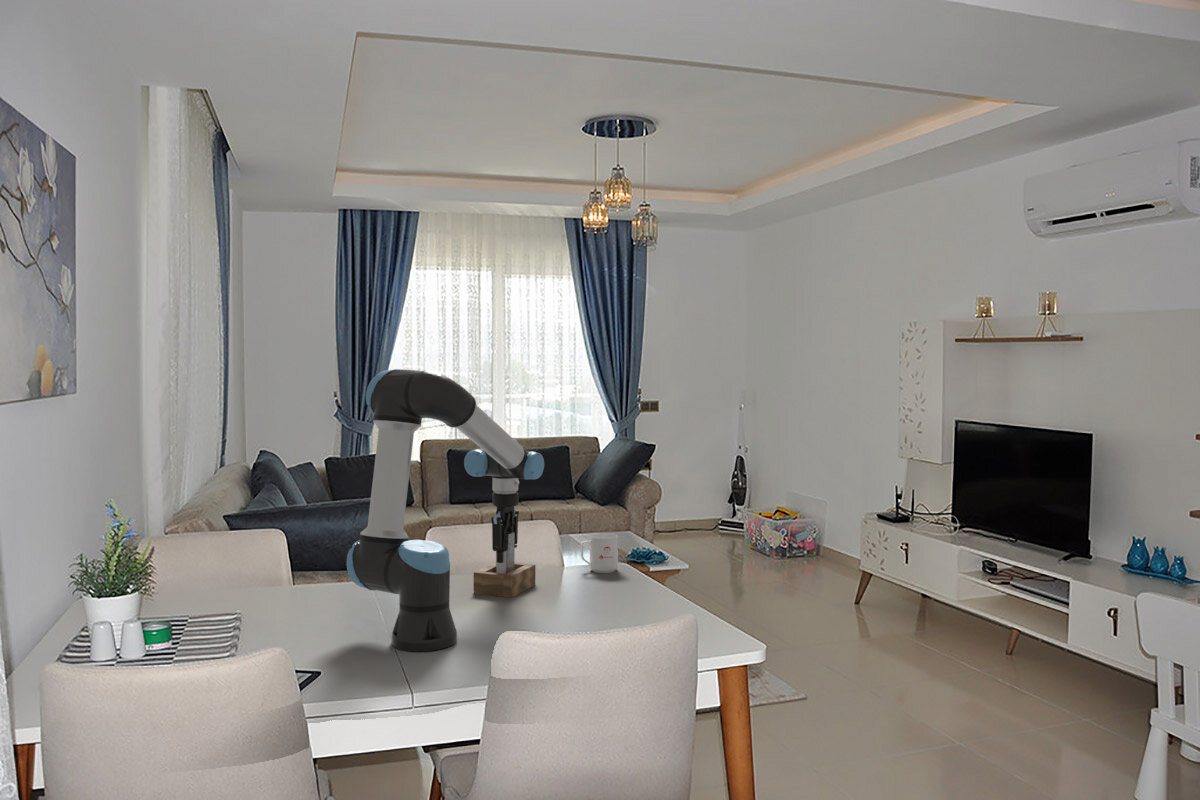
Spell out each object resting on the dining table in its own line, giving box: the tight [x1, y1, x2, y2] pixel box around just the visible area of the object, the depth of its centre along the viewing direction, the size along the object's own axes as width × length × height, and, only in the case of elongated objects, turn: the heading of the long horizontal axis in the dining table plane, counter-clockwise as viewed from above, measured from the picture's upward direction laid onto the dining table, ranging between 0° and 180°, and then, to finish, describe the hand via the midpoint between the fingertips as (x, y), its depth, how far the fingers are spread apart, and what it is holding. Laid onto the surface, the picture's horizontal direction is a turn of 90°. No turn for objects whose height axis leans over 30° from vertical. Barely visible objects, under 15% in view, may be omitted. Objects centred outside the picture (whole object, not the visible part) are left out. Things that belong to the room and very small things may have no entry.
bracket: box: [495, 532, 516, 574], centre depth 270 cm, size 7×4×14 cm, turn 159°
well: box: [473, 561, 536, 598], centre depth 269 cm, size 16×12×6 cm
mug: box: [580, 532, 619, 574], centre depth 292 cm, size 12×9×11 cm
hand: (505, 571), depth 268 cm, fingers closed on bracket, 4 cm apart
